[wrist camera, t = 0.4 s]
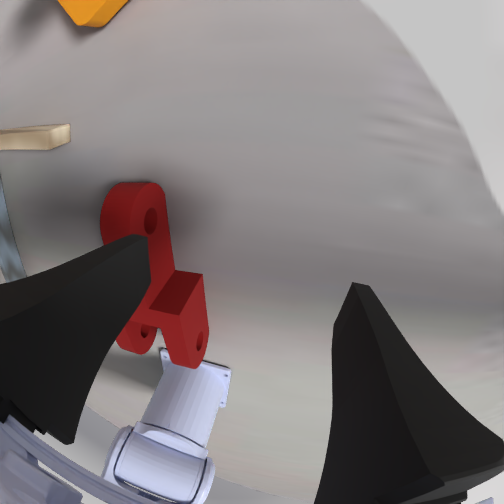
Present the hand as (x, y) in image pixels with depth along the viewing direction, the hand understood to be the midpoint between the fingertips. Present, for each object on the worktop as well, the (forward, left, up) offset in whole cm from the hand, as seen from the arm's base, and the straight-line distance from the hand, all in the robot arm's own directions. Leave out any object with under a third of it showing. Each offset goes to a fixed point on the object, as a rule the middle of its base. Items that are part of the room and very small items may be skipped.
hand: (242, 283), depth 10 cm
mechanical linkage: (-8, +8, -10) cm, 15 cm away
